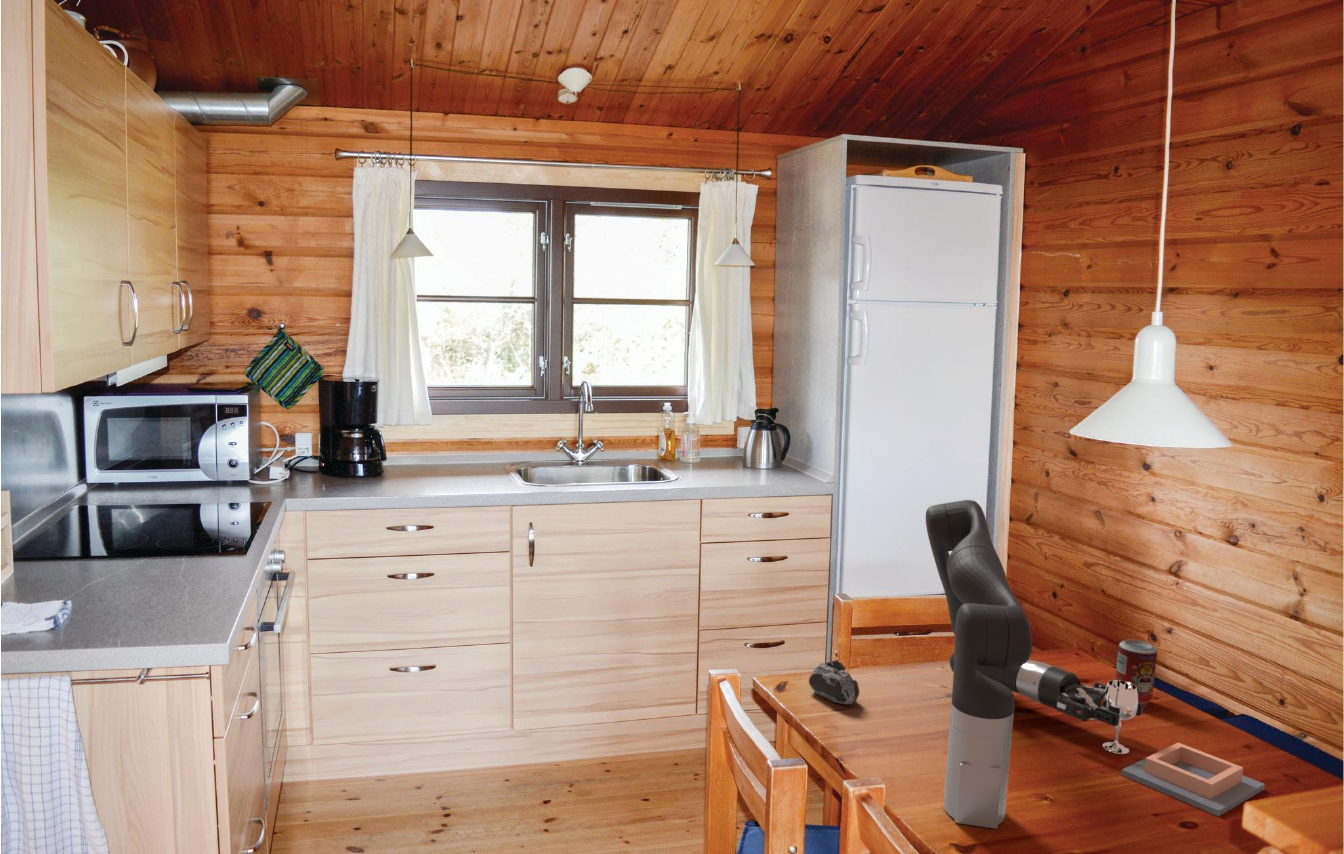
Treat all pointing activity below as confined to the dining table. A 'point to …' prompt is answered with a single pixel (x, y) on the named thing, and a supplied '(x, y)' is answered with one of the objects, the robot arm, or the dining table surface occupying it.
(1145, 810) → the dining table surface
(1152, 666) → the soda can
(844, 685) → the dark grey rock
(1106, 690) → the wineglass
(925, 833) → the dining table surface
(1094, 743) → the dining table surface
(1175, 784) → the glass holder
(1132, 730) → the dining table surface
